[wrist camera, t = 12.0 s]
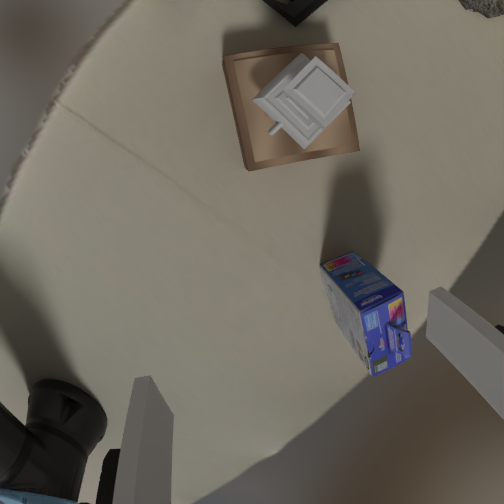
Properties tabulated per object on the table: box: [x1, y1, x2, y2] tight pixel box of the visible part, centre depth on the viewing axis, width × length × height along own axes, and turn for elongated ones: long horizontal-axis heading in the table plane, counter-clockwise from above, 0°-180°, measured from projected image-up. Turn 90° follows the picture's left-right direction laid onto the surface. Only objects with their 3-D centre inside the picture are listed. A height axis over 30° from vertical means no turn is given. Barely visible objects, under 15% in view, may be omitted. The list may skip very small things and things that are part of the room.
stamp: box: [252, 53, 356, 149], centre depth 25 cm, size 9×7×8 cm
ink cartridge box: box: [320, 252, 412, 376], centre depth 35 cm, size 10×6×14 cm, turn 21°
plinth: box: [222, 43, 360, 171], centre depth 31 cm, size 12×12×4 cm
